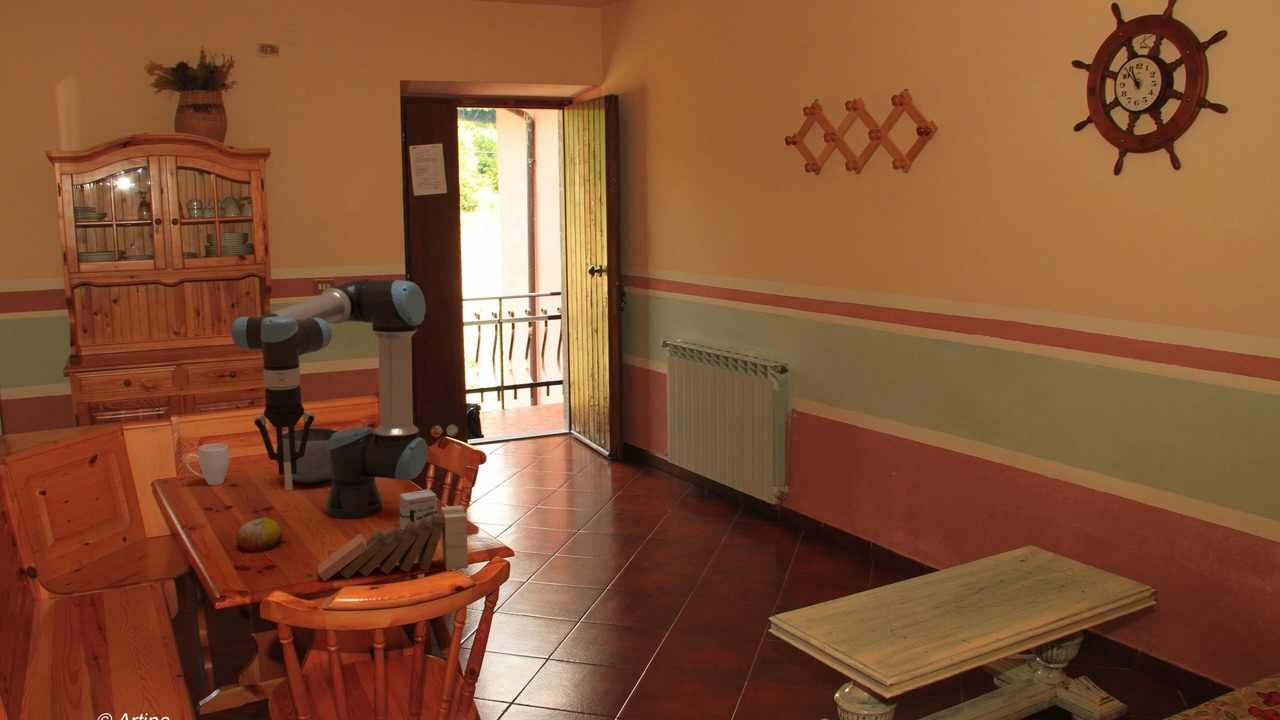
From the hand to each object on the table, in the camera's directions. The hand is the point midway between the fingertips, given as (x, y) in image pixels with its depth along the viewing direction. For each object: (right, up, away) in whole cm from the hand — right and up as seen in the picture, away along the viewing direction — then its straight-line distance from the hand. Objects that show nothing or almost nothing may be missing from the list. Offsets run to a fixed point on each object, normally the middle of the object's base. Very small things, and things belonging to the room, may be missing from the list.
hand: (288, 487), depth 224 cm
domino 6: (+28, -20, +13) cm, 36 cm away
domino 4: (+19, -20, +10) cm, 29 cm away
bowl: (-20, -8, +79) cm, 82 cm away
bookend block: (+35, -20, +15) cm, 43 cm away
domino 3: (+14, -20, +8) cm, 26 cm away
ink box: (+22, -17, +32) cm, 42 cm away
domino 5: (+23, -20, +11) cm, 33 cm away
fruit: (-17, -18, +25) cm, 35 cm away
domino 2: (+10, -20, +7) cm, 24 cm away
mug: (-51, -9, +75) cm, 90 cm away
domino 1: (+6, -21, +5) cm, 22 cm away
